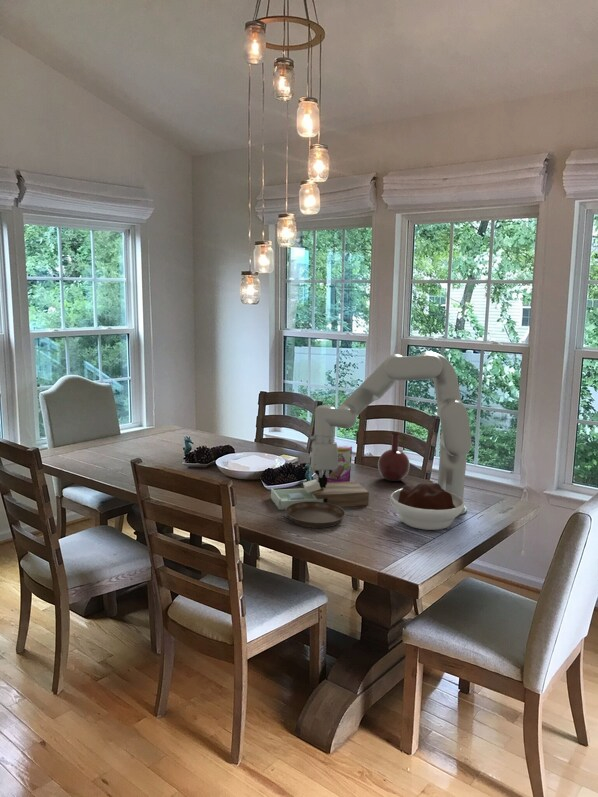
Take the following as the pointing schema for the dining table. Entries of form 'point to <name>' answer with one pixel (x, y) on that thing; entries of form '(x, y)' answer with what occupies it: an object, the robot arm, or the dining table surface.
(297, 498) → the slate tile
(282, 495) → the tray
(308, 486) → the cream tile
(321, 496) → the wooden board
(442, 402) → the robot arm
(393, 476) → the round-bottom flask
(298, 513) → the plant saucer
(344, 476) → the candy bar box
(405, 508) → the white serving bowl
